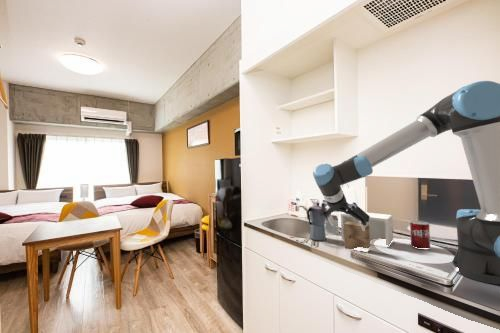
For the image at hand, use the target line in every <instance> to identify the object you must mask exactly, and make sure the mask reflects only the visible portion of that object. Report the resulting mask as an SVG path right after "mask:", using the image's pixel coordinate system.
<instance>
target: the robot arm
mask: <svg viewBox="0 0 500 333" xmlns="http://www.w3.org/2000/svg"><path fill="white" fill-rule="evenodd" d="M447 131H451V133H452V134H453V135H455V136H458V137H459V138H460V139H461V144H462V146H463V147H462V148H463V151H464V154H465V157H466V162H467V164H468V168H469V171H470V174H471V179H472V181H473V186H474V189H475V193H476V196H477V200H478V203H479V206H480V209H477V208H475V209H471V208H469V209H467V208H464V209H463V208H461V209H457V211H456V217H455V218H456V235H457V237H456V238H457V250H456V252H455V254H454V256H453V259H452V260H451V261H452V264H453V265H454V266H455V267H458V268H459V272H460V274H459V275H461V276H464V277H466V278H469V279H471V280H474V281H479V282H482V283H487V284H493V285H500V83H499V82H495V81H491V80H480V81H475V82H472V83H469V84H467V85H465V86H462V87H460V88H459V89H457V90H456V91H454V92H452V93H451V94H449V95H447V96H445V97H444V98H442V99H440V100H439V101H438V102H437V103H435V104H434V105H433V106H432V107H430V108H429V109H428V110H426V111H424V112H423V113H421V114H420V115H418V116H416V120H414V121H413V122H411V123H410V124H408V125H406V126H404V127H402V128H400V129H399V130H397V131H395V132H393V133H392V134H390V135H389V136H387V137H385V138H383V139H381V140H379V141H378V142H376V143H374V144H372V145H371V146H369V147H368V148H365V149H364V150H362V151H360V152H359V153H357V154H355V155H353V156H352V157H350V158H349V159H347V160H344V161H342V162H341V163H339V164H336V165H334V166H333V165H331V164H329V163H320V164H318V165H317V166H316V167H315V168H314V169H313V172H312V176H313V178H314V181H315V182H316V185H317V187H318V189H319V190H320V192H321V194H322V196H323V198H324V199H322V202H321V204H320V206H322V209H321V213H320V215H321V216H323V215H324V216H325V217H326V219H327V220H329V222H330V224H331V226H333V224H334V219H333V217H332V215H333V214H332V213H335V212H334V211H337V212H339V213H343V212H344V213H346V214H349V215H351V216H353V217H354V218H356V219H358V220H359V223H360V225H361V228H362V230H363V231H365V227H366V223H367V222H369V217H370V216H369V215H368V214H366V213H365V211H364V210H363V209H362V208H361V207H359V206H358V205H357V203H356V202H352V203H349V202H347V198H346V195H345V193H344V191H343V189H342V186H344V185H345V184H348V183H351V182H354V181H357V180H359V179H363V178H365V177H368V176H370V175H372V174H373V171H374V170H373V167H375V166H378V165H379V164H381V163H383V162H384V161H387V160H388V159H390V158H392V157H395V156H396V155H398V154H400V153H401V152H403V151H405V150H407V149H408V148H410V147H412V146H414V145H416V144H419V142H420V143H421V142H422V141H424V140H425V139H427V138H429V137H432V138H435V137H436V136H439V135H441V134H442V133H445V132H447ZM327 207H330V208H329V209H328V210H327V211H326V212H324V210H325V208H327ZM452 264H451V265H452Z"/></svg>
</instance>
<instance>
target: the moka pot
mask: <svg viewBox="0 0 500 333" xmlns="http://www.w3.org/2000/svg"><path fill="white" fill-rule="evenodd" d="M321 209H322V206H321V205H320V202H317V203H316V205H313V206H310V207H308V209H307V211H306V214H307V219H308V224H309V225H310V232H309V239H310V240H313V241H319V242H320V241H322V242H323V241H326V234H325V225H324V224H325V219H326V217H325V216H324V215H323V216H321V215H320V213H321ZM326 211H327V207H325V210H324V212H326Z"/></svg>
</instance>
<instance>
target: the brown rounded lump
mask: <svg viewBox="0 0 500 333" xmlns="http://www.w3.org/2000/svg"><path fill="white" fill-rule="evenodd" d="M344 235H345V240H344V248H345V249H348V250H351V249H354V248H357V247H363V248H369V247H370V248H371V245H370V232H369V225H366V227H365V231H363V230H362V228H361V225H360V224H359V223H352V222H346V223H344Z"/></svg>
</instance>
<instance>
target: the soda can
mask: <svg viewBox="0 0 500 333" xmlns="http://www.w3.org/2000/svg"><path fill="white" fill-rule="evenodd" d="M409 229H410V230H409V231H410V234H409V235H410V246H411V245H412V246H414V247H417V248H430V249H431V232H430V224H429V223H428V222H427V221H422V220H412V221H410V223H409ZM412 246H411V247H412Z"/></svg>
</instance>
